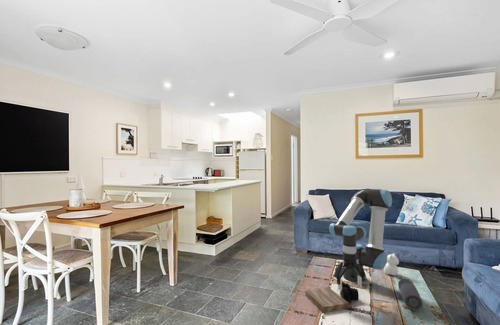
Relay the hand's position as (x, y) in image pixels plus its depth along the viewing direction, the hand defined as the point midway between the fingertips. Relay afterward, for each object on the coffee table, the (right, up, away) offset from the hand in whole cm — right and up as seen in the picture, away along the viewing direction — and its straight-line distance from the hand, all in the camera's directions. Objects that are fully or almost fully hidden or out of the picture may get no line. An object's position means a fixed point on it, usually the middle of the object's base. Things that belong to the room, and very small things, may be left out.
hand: (349, 288), depth 150 cm
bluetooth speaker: (+33, -7, -3) cm, 34 cm away
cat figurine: (+45, -8, +38) cm, 59 cm away
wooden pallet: (-15, -6, -2) cm, 16 cm away
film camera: (0, -7, 0) cm, 7 cm away
